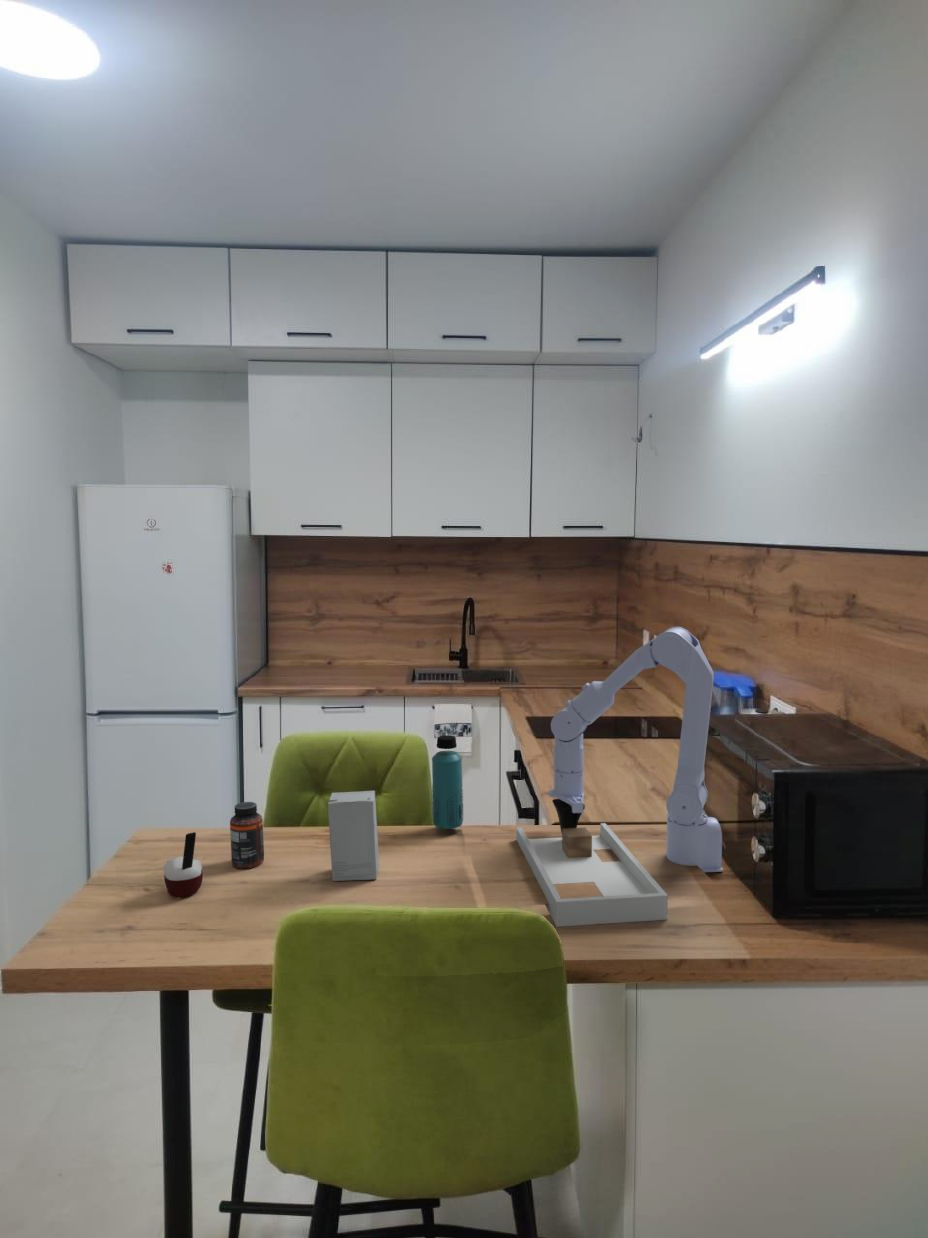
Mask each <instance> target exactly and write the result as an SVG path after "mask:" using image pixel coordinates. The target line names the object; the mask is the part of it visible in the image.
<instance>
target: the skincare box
mask: <svg viewBox="0 0 928 1238" xmlns="http://www.w3.org/2000/svg"><path fill="white" fill-rule="evenodd" d="M327 813H328V817H327V818H328V833H329V846H330V847H329V848H330V862H331V877H332V882H342V881H344V882H345V881H367V880H370V881H371V880H372V881H373V880H377V878H378V873H379V868H380V859H379V842H378V841H379V839H378V826H377V825H378V824H377V804H376V791H375V790H363V791H348V792H347V791H346V792H332V793H331V794H330V797H329V800H328V802H327Z"/></svg>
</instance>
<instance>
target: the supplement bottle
mask: <svg viewBox="0 0 928 1238" xmlns="http://www.w3.org/2000/svg"><path fill="white" fill-rule="evenodd" d="M257 811H258V807H257V803H256V802H253V801H243V802H238V803H237V804H235V805H234V815H233V816H232V817H231V818H230V821H229V829H230V830H229V831H230V853H231V856H230V857H231V865H232V866H233V867H234V868H236V869H252V868H256V867H258V866H260V865H261V864H263V863H264V860H265V849H264V848H265V847H264V844H265V843H264V841H265V840H264V826H263V825H264V823H263V816H262V815H261V814H260V813H259V812H257Z"/></svg>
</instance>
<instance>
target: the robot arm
mask: <svg viewBox="0 0 928 1238" xmlns="http://www.w3.org/2000/svg"><path fill="white" fill-rule="evenodd" d="M659 665H661V666H663V667H664V668H667V669H669V670H671V671H673V672H674V673H675V674H676V675H677V676H678V677H679V678H680V679H681V680H682V681H683V683H685V692H684V693H685V694H684V701H683V702H684V703H683V711H682V720H681V730H680V739H679V749H678V758H677V759H678V760H677V766H676V767H677V770H676V773H675V776H674V777H675V778H674V783H673V790H672V791H671V793H670V794H669V796H668V797H667V800H666V810H667V811H666V812H667V814H666V850H665V851H666V852H665V853H666V855H665V856H666V859H667V860H668V861H670V862H673V863H674V864H677V865H681V866H687V867H688V866H695V867H696V866H697V867H698V868H699V869H700V870H701V871H702V872H703V873H716V872H719V873H720V872H723V871H724V868H723V867H722V858H723V856H722V855H723V833H722V828H721V824H720V823H719V821H718V819H717V818H715V817H713V816H708V815H707V813H706V812H705V809H704V806H705V804H706V803H707V800H708V799H709V798H708V797H709V792H708V789H707V787H706V784H705V777H706V771H705V764H706V762H705V761H706V756H707V755H706V754H707V753H706V752H707V744H708V735H709V726H710V719H711V718H710V717H711V707H712V698H713V690H714V680H715V674H714V670H713V668H712V666H711V665H710V663H709V660H708V658H707V656H706V654H705V653H704V651H703V649H702V646H701V644H700V641H699V639H697V637H695V636H694V635H693V634H692V633H691V632H690V631H689V630H688V629H686V628H684V627H681V626H671V627H670V628H667V629H666V630H665V631H663V632H662V633H659V634H658V635H656V636H655V637H654V638H653V639H651V640H650V641H648V642H647V643H645V644H644V645H642V646H640V647H639V648H637V649H636V650H635V651H633V653H632V654H630V656H629V657H627V658H626V659H625V660H624V661H623V662H622V663H621V664H620V665H619V666H618V667H617V668H616V669H615V670H613V672H612V673H611V674H610V675H609V676H608V677H607V678H606V679H604V680H603V681H597V680H593V681H591V682H590V683H589V682H586V683H584V685H583V686H581V689H582V691H581V692H580V693H579V694H577V695H576V696H575V697H574V698H573V699H572V700H570V699H569V700H567V701H566V702H565V703H564V705H565V707H564V708H563V709H561V710H558V711H557V712H555V715H554V716H553V717H552V718H551V721H550V730H551V733H552V734H553V736H554V745H553V789H549V790H547V795H548V796H549V797H550V798H554V799H552V801H551V802H552V803H553V806H554V808H555V811H556V812H557V813H556V814H557V817H558V823H559V826H560V832H561V834H562V829H563V828H578V823H579V821H580V818H581V816H582V814H583V813H584V811H585V809H586V805H585V804H584V798H585V790H584V763H585V762H584V758H585V757H584V755H585V752H584V748H585V747H584V732H585V731H586V729H587V727H588V726H589V725H591V724H593V723H594V722H595V721H596V720H597V719H598V718H599V717H601V716H602V715H603V714H604V713H605V712H607V710H608V709H610V708H611V707H612V706H613V705H614V704H615V695H616V693H617V692H618V691H619V690H621V689H622V688H623V687H624V686H626V684H628V683H629V681H631V680H633V678H635V677H636V676H637V675H639V673H641V672H642V671H643V670H644V669H652V668H657V667H658V666H659Z"/></svg>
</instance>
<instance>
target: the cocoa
mask: <svg viewBox="0 0 928 1238" xmlns="http://www.w3.org/2000/svg"><path fill="white" fill-rule="evenodd" d="M196 835H197V833H196V832H195V831H194V832H189V833H187V834H185V839H184V847H183V848H184V849H183V854H182V855H183V856H177V857H174V858H171V859H170V860H167V861H166V862H165V864H163V873H164V874H163V875H164V876H163V877H164V883H165V887H166V891H167V893H168V894H169V895H170V896H171V897H173V898H179V899H185V898H189V897H191V896H193V895H195V894H196V893H198V891H199V890H200V888H201V887H202V883H203V877H204V875H203V874H204V871H203V866H202V863H201V861H200V860H199V859H195V858H194V856H195V855H194V854H195V846H196V845H195V844H196V838H197V836H196Z"/></svg>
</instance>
